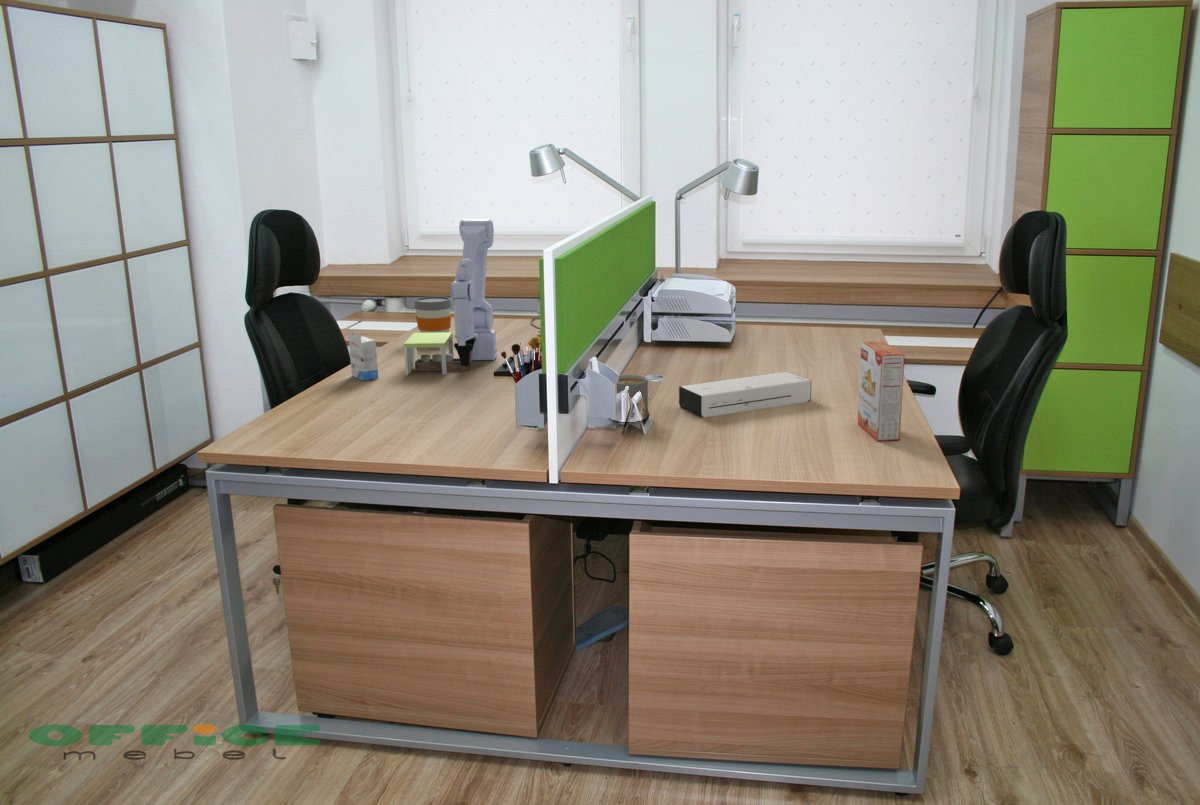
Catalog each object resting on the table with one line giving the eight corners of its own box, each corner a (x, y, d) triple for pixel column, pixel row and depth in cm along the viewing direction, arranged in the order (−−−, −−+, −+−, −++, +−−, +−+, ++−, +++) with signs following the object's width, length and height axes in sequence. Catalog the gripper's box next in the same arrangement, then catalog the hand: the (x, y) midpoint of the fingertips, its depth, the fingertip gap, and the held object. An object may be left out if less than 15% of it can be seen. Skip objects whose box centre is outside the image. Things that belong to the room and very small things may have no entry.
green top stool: (453, 362, 320) (452, 332, 317) (446, 374, 304) (444, 343, 302) (415, 362, 320) (413, 332, 317) (406, 375, 305) (403, 343, 302)
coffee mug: (640, 410, 264) (640, 373, 261) (653, 420, 255) (653, 382, 252) (591, 415, 261) (590, 377, 258) (601, 425, 251) (601, 386, 249)
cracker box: (855, 424, 249) (860, 341, 244) (879, 423, 250) (884, 340, 244) (875, 441, 236) (880, 354, 230) (900, 440, 236) (906, 353, 231)
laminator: (700, 419, 257) (700, 395, 255) (676, 407, 268) (676, 385, 266) (810, 402, 271) (811, 380, 269) (783, 392, 281) (784, 370, 280)
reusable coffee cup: (450, 346, 344) (448, 302, 340) (413, 346, 344) (410, 302, 340) (456, 338, 356) (453, 295, 352) (420, 338, 356) (417, 296, 352)
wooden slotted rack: (472, 366, 315) (472, 350, 313) (470, 370, 310) (470, 354, 308) (418, 366, 315) (417, 351, 313) (415, 370, 310) (414, 354, 309)
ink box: (379, 378, 301) (375, 330, 297) (364, 381, 298) (360, 332, 294) (366, 373, 308) (362, 325, 304) (350, 376, 304) (347, 328, 301)
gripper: (474, 324, 301) (476, 369, 305) (480, 315, 315) (482, 358, 319) (450, 325, 301) (452, 369, 305) (457, 315, 315) (459, 358, 319)
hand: (466, 363), depth 312 cm, fingers closed on wooden slotted rack, 5 cm apart
